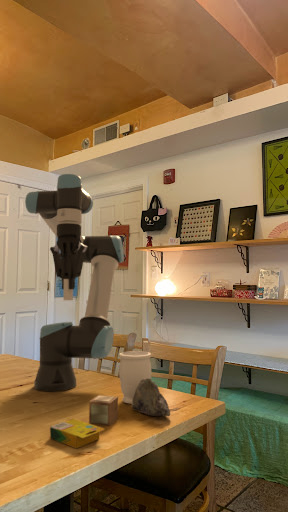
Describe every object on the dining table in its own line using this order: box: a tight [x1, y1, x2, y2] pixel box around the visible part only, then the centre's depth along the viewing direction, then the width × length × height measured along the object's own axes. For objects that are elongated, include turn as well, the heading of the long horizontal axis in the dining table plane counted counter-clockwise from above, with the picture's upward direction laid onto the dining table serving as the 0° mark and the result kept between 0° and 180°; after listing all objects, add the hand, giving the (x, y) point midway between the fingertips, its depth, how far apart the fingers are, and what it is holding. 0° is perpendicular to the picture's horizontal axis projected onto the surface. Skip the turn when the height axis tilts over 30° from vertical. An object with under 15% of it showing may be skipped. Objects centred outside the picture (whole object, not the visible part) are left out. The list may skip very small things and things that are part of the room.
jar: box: [118, 350, 152, 405], centre depth 126 cm, size 11×10×15 cm
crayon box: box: [49, 418, 105, 449], centre depth 93 cm, size 7×3×12 cm
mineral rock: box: [131, 378, 171, 417], centre depth 112 cm, size 13×11×10 cm
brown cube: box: [88, 394, 119, 427], centre depth 106 cm, size 6×6×6 cm
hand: (68, 300), depth 120 cm, fingers closed
